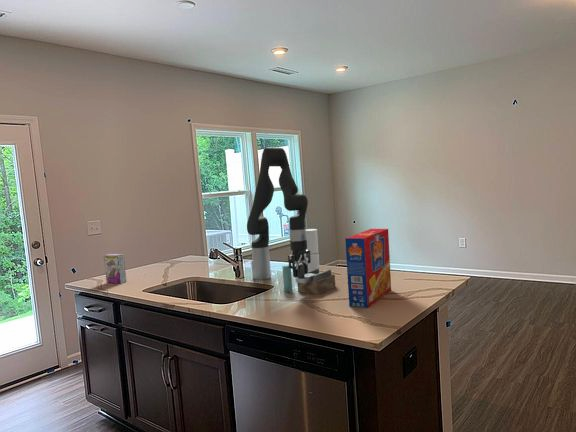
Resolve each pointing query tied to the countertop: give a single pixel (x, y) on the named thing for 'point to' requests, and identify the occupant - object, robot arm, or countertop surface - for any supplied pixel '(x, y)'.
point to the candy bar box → (115, 268)
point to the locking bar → (301, 276)
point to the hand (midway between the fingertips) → (300, 275)
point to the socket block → (318, 282)
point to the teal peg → (287, 278)
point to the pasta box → (368, 267)
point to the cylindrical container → (313, 249)
